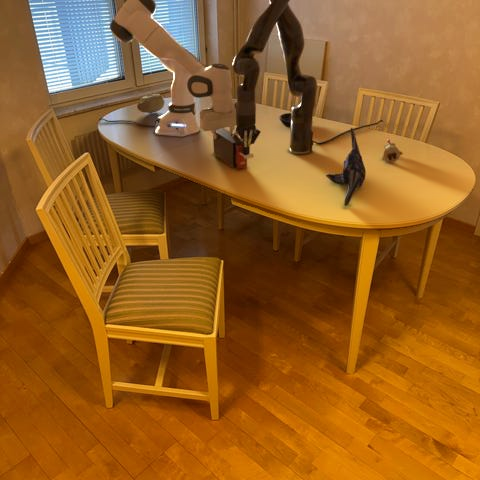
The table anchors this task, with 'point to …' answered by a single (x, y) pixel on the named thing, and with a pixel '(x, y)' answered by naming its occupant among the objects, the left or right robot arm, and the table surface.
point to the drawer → (241, 157)
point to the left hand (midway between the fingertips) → (223, 137)
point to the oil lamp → (286, 119)
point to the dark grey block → (225, 147)
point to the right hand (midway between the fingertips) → (245, 154)
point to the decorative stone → (151, 103)
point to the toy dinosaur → (351, 171)
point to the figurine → (391, 152)
